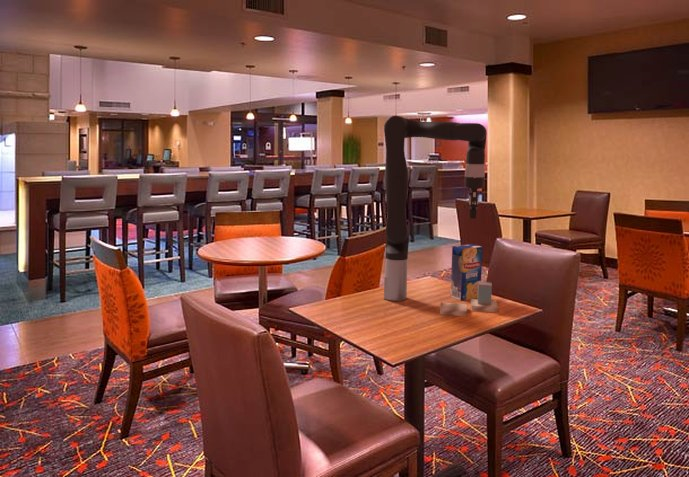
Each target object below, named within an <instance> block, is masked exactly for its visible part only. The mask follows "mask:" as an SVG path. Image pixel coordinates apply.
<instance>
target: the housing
mask: <svg viewBox="0 0 689 477" xmlns="http://www.w3.org/2000/svg"><path fill="white" fill-rule="evenodd" d="M492 290H493V284H492V282H491V281H490V282H489V281H481V282H478V298H476V299H477V301H478V304H483V305H491V300H492V295H493V294H492V292H493V291H492Z"/></svg>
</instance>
